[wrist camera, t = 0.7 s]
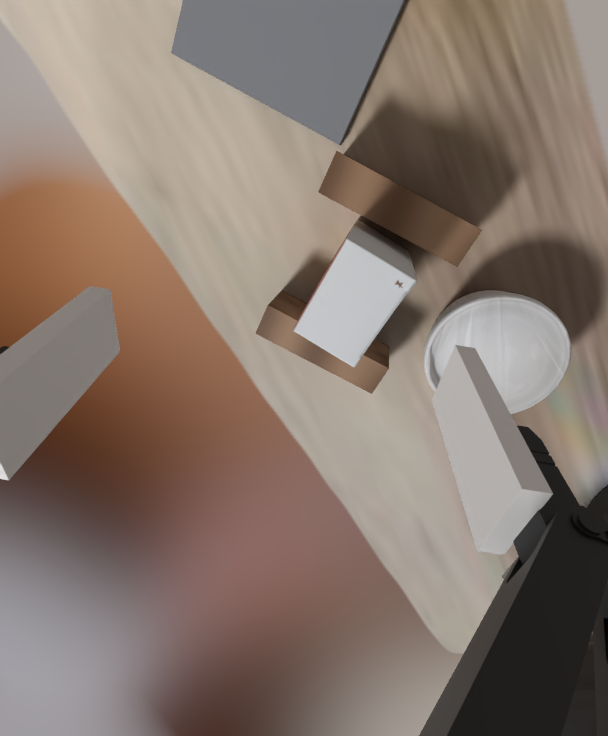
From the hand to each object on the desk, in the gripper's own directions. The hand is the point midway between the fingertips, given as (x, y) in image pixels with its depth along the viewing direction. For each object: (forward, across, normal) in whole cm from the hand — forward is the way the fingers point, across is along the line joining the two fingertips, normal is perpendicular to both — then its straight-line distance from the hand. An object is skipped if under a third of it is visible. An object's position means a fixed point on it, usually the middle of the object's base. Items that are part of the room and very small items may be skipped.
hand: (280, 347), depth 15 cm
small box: (+23, -5, +5) cm, 24 cm away
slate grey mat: (+26, +4, -14) cm, 30 cm away
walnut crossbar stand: (+22, -5, +5) cm, 24 cm away
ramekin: (+21, -18, +8) cm, 28 cm away
